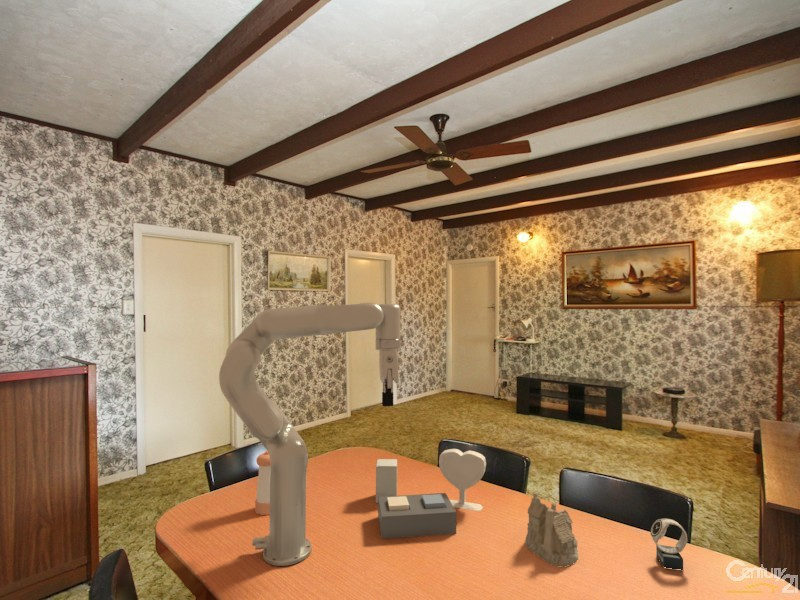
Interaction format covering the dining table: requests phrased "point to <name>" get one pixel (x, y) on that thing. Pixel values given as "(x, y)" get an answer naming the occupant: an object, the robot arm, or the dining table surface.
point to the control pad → (416, 518)
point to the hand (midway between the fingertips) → (387, 405)
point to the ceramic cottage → (551, 534)
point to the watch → (667, 553)
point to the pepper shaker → (263, 484)
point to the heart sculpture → (462, 473)
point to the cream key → (397, 503)
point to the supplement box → (386, 478)
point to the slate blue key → (433, 501)
